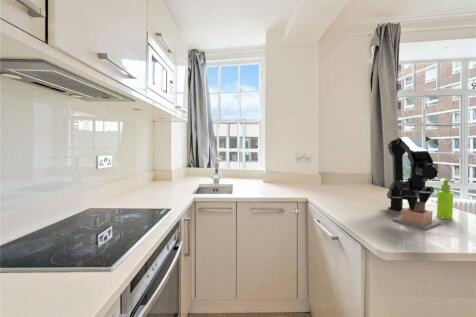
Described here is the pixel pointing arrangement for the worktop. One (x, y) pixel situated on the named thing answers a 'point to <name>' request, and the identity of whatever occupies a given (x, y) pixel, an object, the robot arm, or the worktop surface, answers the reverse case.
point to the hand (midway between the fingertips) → (416, 208)
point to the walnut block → (419, 207)
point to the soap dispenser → (445, 200)
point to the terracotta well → (417, 219)
